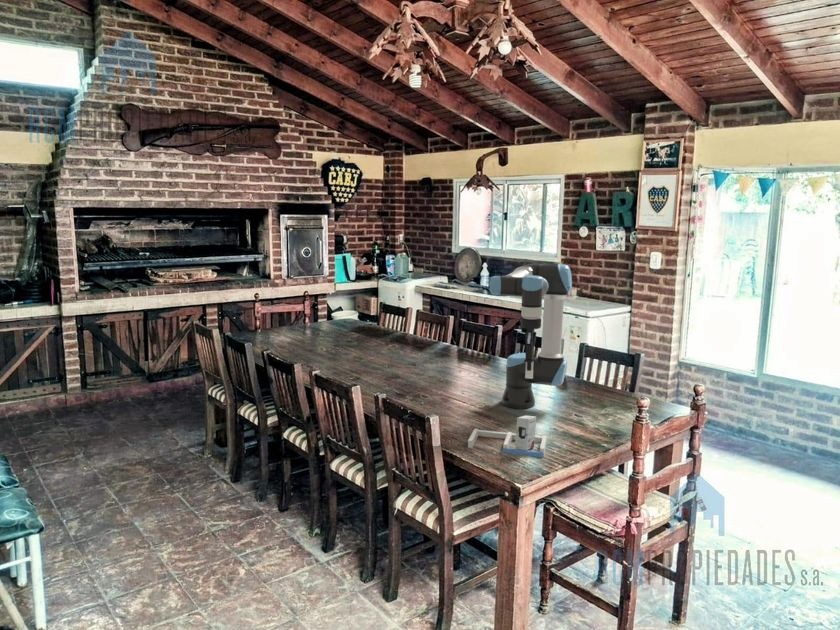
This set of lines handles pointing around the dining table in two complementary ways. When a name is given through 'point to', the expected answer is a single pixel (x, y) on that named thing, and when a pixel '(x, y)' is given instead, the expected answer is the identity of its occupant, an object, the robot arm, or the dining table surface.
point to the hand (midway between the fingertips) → (529, 377)
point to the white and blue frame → (508, 439)
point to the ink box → (525, 432)
